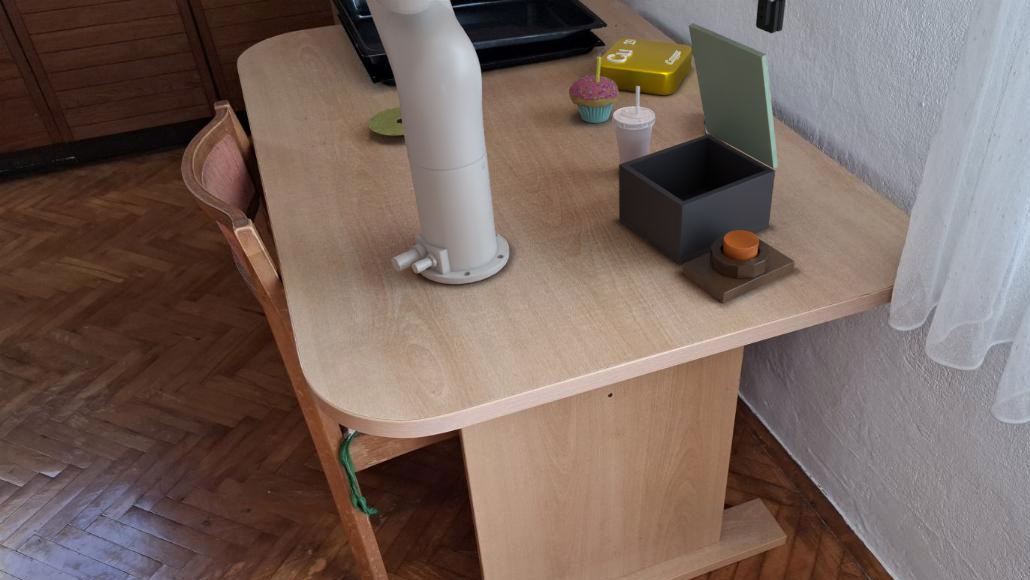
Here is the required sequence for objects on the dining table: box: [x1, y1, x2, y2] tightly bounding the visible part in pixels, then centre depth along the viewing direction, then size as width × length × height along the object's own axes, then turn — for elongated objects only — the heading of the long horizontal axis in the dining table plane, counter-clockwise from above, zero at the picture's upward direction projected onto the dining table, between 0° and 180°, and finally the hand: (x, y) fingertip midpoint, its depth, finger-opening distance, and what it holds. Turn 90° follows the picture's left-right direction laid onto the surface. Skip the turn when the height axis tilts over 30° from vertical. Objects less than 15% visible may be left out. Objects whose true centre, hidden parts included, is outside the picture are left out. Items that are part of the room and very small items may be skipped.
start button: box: [723, 230, 760, 261], centre depth 108 cm, size 4×4×2 cm
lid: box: [688, 22, 779, 170], centre depth 112 cm, size 17×14×1 cm
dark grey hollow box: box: [618, 133, 776, 266], centre depth 117 cm, size 16×14×9 cm
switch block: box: [682, 236, 796, 304], centre depth 110 cm, size 12×8×4 cm, turn 124°
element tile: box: [600, 37, 693, 96], centre depth 160 cm, size 15×15×5 cm
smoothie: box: [611, 86, 656, 164], centre depth 128 cm, size 6×6×14 cm
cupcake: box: [568, 52, 620, 124], centre depth 145 cm, size 9×8×12 cm
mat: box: [367, 106, 404, 136], centre depth 145 cm, size 11×11×2 cm
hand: (768, 28), depth 109 cm, fingers closed
